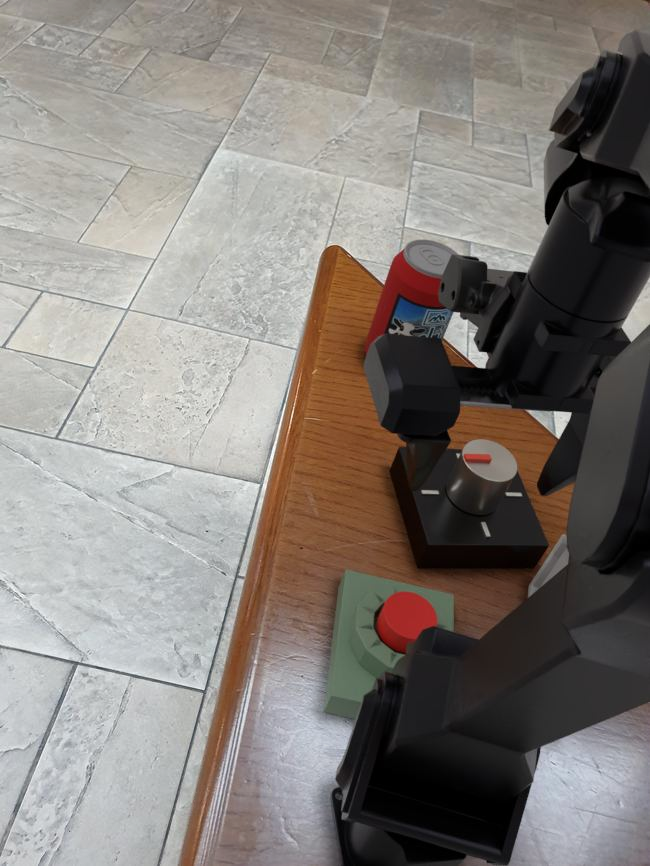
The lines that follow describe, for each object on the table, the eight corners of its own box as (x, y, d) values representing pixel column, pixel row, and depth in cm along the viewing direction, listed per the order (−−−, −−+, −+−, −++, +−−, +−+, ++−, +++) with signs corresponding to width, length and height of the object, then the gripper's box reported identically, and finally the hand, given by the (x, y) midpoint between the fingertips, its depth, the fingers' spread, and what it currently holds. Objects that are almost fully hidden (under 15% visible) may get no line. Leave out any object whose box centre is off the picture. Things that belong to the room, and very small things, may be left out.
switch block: (443, 739, 55) (463, 709, 53) (323, 712, 55) (337, 681, 52) (444, 611, 63) (462, 579, 60) (338, 586, 62) (351, 553, 59)
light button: (428, 659, 55) (437, 644, 54) (374, 646, 55) (381, 631, 54) (429, 612, 58) (437, 598, 56) (378, 600, 57) (385, 585, 56)
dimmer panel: (534, 568, 68) (550, 544, 65) (416, 568, 65) (429, 543, 63) (497, 474, 74) (510, 449, 72) (388, 471, 72) (399, 444, 70)
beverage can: (385, 389, 79) (424, 283, 71) (349, 344, 83) (382, 238, 75) (442, 377, 82) (486, 274, 74) (405, 334, 86) (443, 231, 78)
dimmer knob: (489, 473, 70) (508, 437, 67) (506, 515, 67) (527, 479, 64) (439, 472, 68) (456, 435, 66) (454, 515, 65) (473, 478, 63)
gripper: (663, 230, 53) (561, 412, 64) (381, 191, 48) (320, 396, 59) (754, 340, 46) (621, 528, 56) (429, 308, 41) (349, 521, 51)
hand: (477, 488), depth 56 cm, fingers open, 9 cm apart
